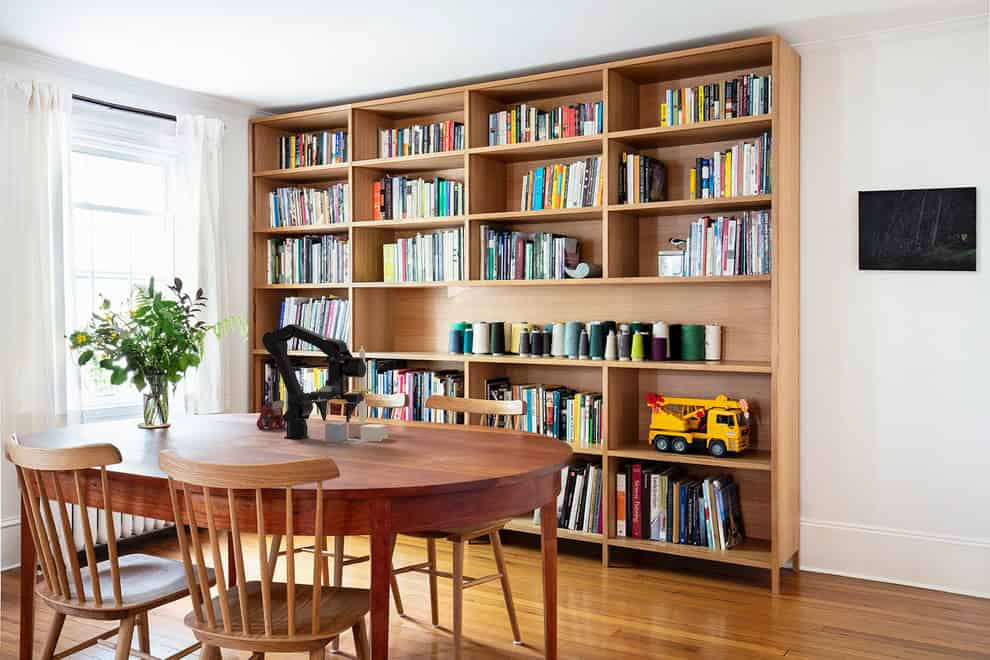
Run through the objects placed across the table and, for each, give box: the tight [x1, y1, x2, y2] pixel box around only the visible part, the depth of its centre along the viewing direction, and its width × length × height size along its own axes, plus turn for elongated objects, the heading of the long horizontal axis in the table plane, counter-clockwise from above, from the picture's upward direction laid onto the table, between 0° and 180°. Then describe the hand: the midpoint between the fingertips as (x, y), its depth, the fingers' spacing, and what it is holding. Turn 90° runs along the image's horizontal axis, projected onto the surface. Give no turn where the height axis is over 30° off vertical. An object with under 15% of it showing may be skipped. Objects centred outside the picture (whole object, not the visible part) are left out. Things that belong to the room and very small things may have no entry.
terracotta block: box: [347, 421, 367, 438], centre depth 314 cm, size 5×5×5 cm
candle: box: [350, 344, 374, 422], centre depth 327 cm, size 10×10×32 cm
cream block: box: [360, 423, 389, 442], centre depth 307 cm, size 7×7×5 cm
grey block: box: [324, 421, 348, 443], centre depth 304 cm, size 6×6×6 cm
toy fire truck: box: [256, 399, 287, 431], centre depth 333 cm, size 7×12×10 cm, turn 153°
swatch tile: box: [341, 438, 368, 445], centre depth 300 cm, size 7×7×1 cm
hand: (335, 421), depth 304 cm, fingers open, 9 cm apart
